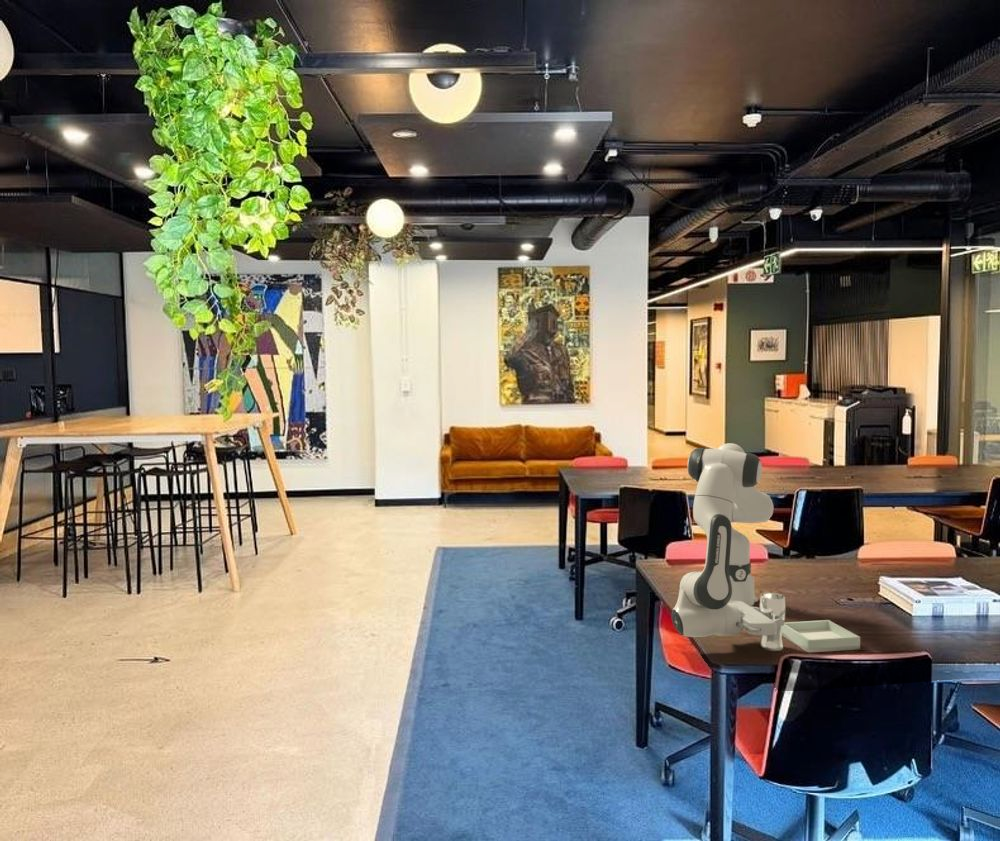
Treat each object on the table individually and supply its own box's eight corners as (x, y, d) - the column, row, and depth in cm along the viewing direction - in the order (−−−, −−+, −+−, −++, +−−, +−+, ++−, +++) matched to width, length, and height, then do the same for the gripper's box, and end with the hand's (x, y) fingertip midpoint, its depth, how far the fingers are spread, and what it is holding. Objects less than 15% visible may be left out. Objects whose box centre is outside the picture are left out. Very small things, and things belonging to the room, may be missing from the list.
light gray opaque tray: (779, 634, 218) (780, 622, 217) (828, 631, 220) (828, 619, 220) (808, 652, 203) (808, 640, 203) (860, 649, 205) (860, 637, 205)
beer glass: (778, 642, 211) (779, 592, 210) (788, 651, 204) (789, 599, 203) (755, 643, 210) (755, 592, 210) (764, 651, 203) (765, 599, 203)
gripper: (747, 620, 194) (794, 617, 196) (713, 597, 214) (756, 595, 216) (746, 643, 194) (794, 639, 197) (713, 618, 215) (756, 615, 217)
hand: (774, 616), depth 207 cm, fingers open, 8 cm apart
